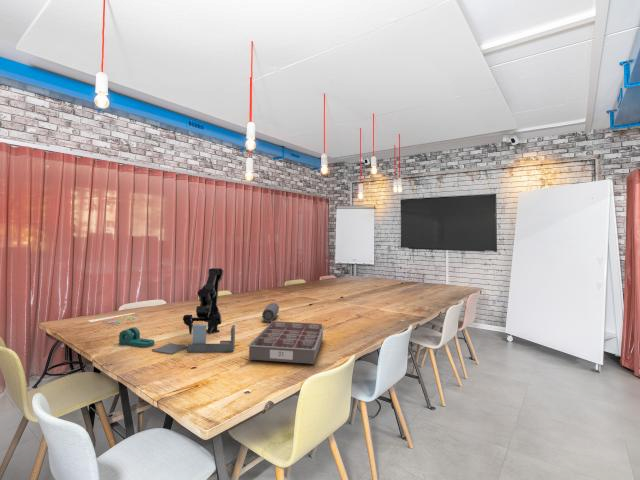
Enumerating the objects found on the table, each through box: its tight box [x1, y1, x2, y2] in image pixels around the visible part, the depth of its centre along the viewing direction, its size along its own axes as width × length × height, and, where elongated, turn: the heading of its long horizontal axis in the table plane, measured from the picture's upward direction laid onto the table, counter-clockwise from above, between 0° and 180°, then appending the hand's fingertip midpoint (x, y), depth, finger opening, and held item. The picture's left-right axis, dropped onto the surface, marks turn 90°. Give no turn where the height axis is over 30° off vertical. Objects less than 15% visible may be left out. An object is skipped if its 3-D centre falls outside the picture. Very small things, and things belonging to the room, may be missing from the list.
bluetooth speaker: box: [261, 302, 280, 322], centre depth 235 cm, size 23×9×10 cm, turn 179°
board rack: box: [186, 324, 236, 354], centre depth 169 cm, size 6×22×12 cm, turn 97°
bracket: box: [118, 326, 155, 349], centre depth 176 cm, size 18×7×8 cm, turn 75°
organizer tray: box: [247, 320, 325, 365], centre depth 173 cm, size 32×40×10 cm
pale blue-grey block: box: [191, 323, 207, 344], centre depth 169 cm, size 2×6×13 cm, turn 97°
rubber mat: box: [151, 342, 187, 355], centre depth 170 cm, size 12×12×1 cm
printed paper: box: [87, 312, 140, 325], centre depth 223 cm, size 30×30×2 cm
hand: (199, 334), depth 169 cm, fingers open, 9 cm apart
